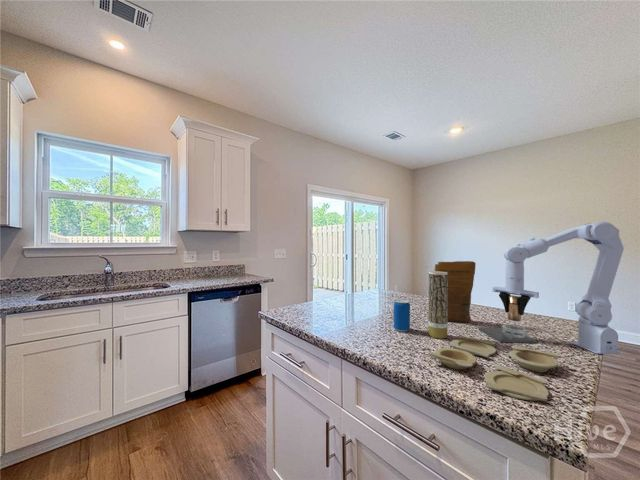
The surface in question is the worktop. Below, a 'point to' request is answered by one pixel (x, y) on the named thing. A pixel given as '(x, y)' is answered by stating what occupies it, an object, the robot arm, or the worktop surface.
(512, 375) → the tableware set
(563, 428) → the worktop surface
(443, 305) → the grey patterned cylinder
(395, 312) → the beverage can
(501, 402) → the worktop surface
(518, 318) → the brown banded cylinder
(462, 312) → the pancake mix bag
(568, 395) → the worktop surface
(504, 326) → the collar stand
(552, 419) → the worktop surface
